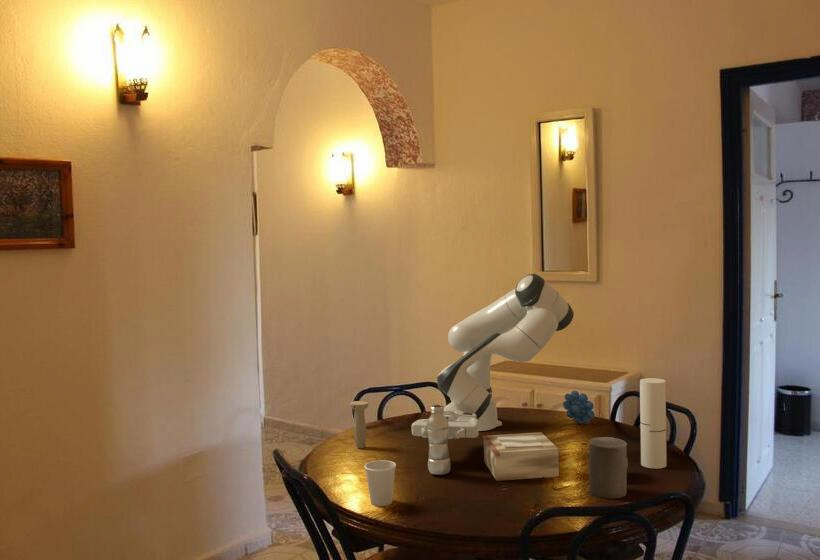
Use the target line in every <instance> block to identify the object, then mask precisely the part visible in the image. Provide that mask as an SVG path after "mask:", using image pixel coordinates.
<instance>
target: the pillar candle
mask: <svg viewBox="0 0 820 560" xmlns="http://www.w3.org/2000/svg"><path fill="white" fill-rule="evenodd" d="M588 442H589V444H588V450H589V452H588V459H589V460H588V461H589V462H588V466H589V467H588V468H589V469H588V471H589V472H588V473H589V474H588V475H589V476H588V481H589V494H591V495H592V496H594V497H597V498H600V499H601V498H602V499H613V500H614V499H621V498H624V497H625V496H627V487H628V486H627V485H628V484H627V483H628V482H627V477H628V475H627V472H628V471H627V470H628V467H627V459H628V457H627V444H628V443H627V441H625V440H623V439H620V438H617V437H612V436H611V437H608V436H602V437H601V436H599V437H593V438H591V439H590V440H589V441H588Z"/></svg>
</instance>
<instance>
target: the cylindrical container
mask: <svg viewBox="0 0 820 560" xmlns="http://www.w3.org/2000/svg"><path fill="white" fill-rule="evenodd" d="M666 393H667V391H666V380H665V379H663V378H655V377H651V378H650V377H647V378H641V379H639V413H640V414H639V417H640V420H639V422H640V465H641V466H642V467H644V468H649V469H654V470H655V469H663V468H666V467H667V411H666V410H667V408H666V407H667V406H666V405H667V404H666V403H667V402H666V400H667V399H666Z"/></svg>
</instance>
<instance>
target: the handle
mask: <svg viewBox="0 0 820 560" xmlns="http://www.w3.org/2000/svg"><path fill="white" fill-rule="evenodd" d="M349 407H350V408H351V409H352V410H353V413H354V416H353V418H354V421H353V434H354V435H353V436H354V442H355V443H354V445H355V448H356V447H357V448H363V447H365V446H366V442H367V428H366V418H365V417H366V415H365V411H366V409H367V408H369V402H367V401H362V400H357V401H355V400H353V401H350V402H349ZM366 447H367V446H366ZM366 447H365V448H366ZM357 448H356V449H357ZM363 449H364V448H363Z"/></svg>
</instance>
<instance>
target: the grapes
mask: <svg viewBox="0 0 820 560" xmlns="http://www.w3.org/2000/svg"><path fill="white" fill-rule="evenodd" d="M564 399H565V401H563V402H562V406H563V408H564V410H567V411H566V416H567V417H568V418H569V419H573V421H574V422H575V424H577V423H578V424H577V425H580V423H581V424H582V423H583V424H585V425H588V424H590V423H591V419H594V418H595V416H596V415H595V412H594V410H593V409H594V408H595V406H594V403H593V402H592V401H590V400H589V397H588V395H587V394H586V393H583V392H582V393H579V392H578V391H577V390H572V391H571V393H565V395H564Z"/></svg>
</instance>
